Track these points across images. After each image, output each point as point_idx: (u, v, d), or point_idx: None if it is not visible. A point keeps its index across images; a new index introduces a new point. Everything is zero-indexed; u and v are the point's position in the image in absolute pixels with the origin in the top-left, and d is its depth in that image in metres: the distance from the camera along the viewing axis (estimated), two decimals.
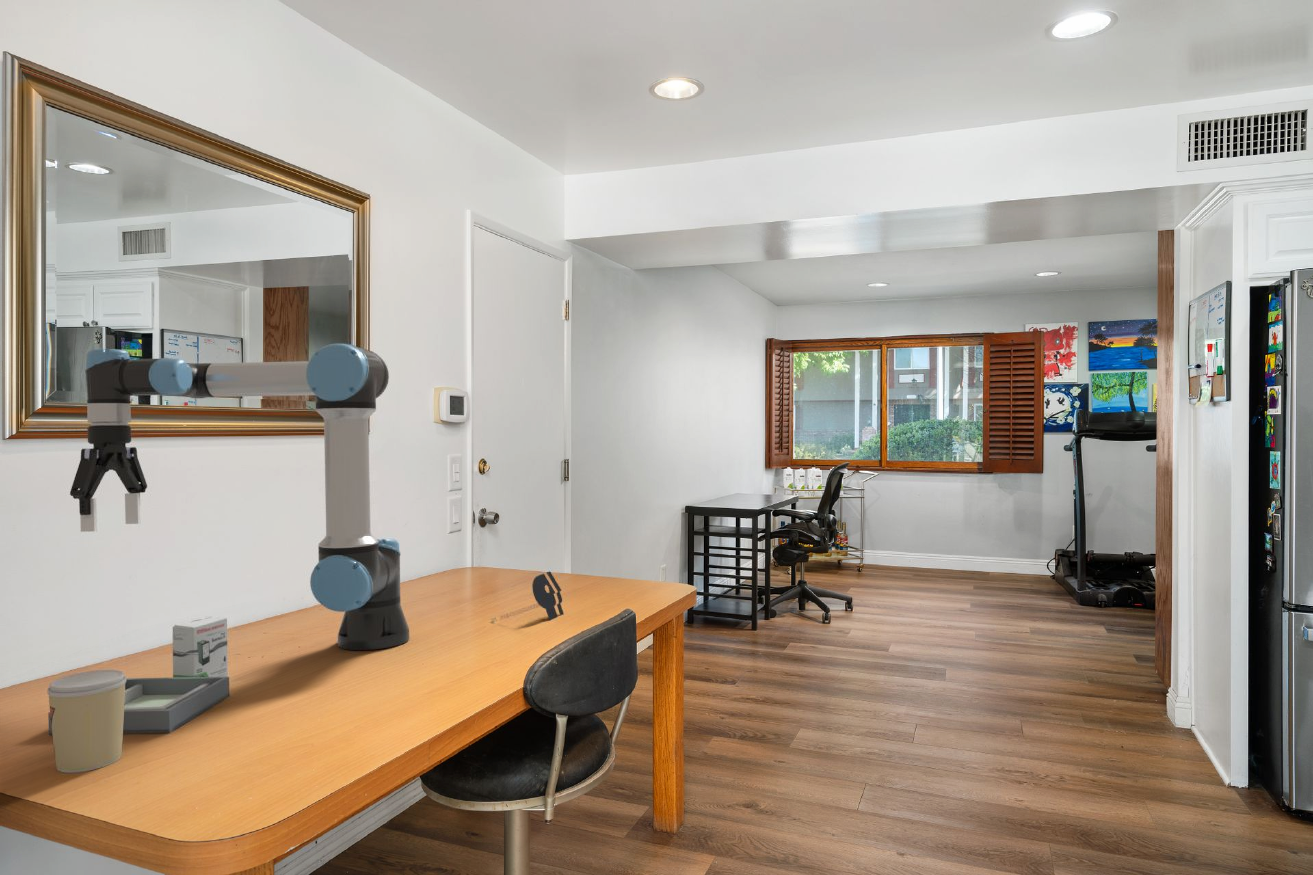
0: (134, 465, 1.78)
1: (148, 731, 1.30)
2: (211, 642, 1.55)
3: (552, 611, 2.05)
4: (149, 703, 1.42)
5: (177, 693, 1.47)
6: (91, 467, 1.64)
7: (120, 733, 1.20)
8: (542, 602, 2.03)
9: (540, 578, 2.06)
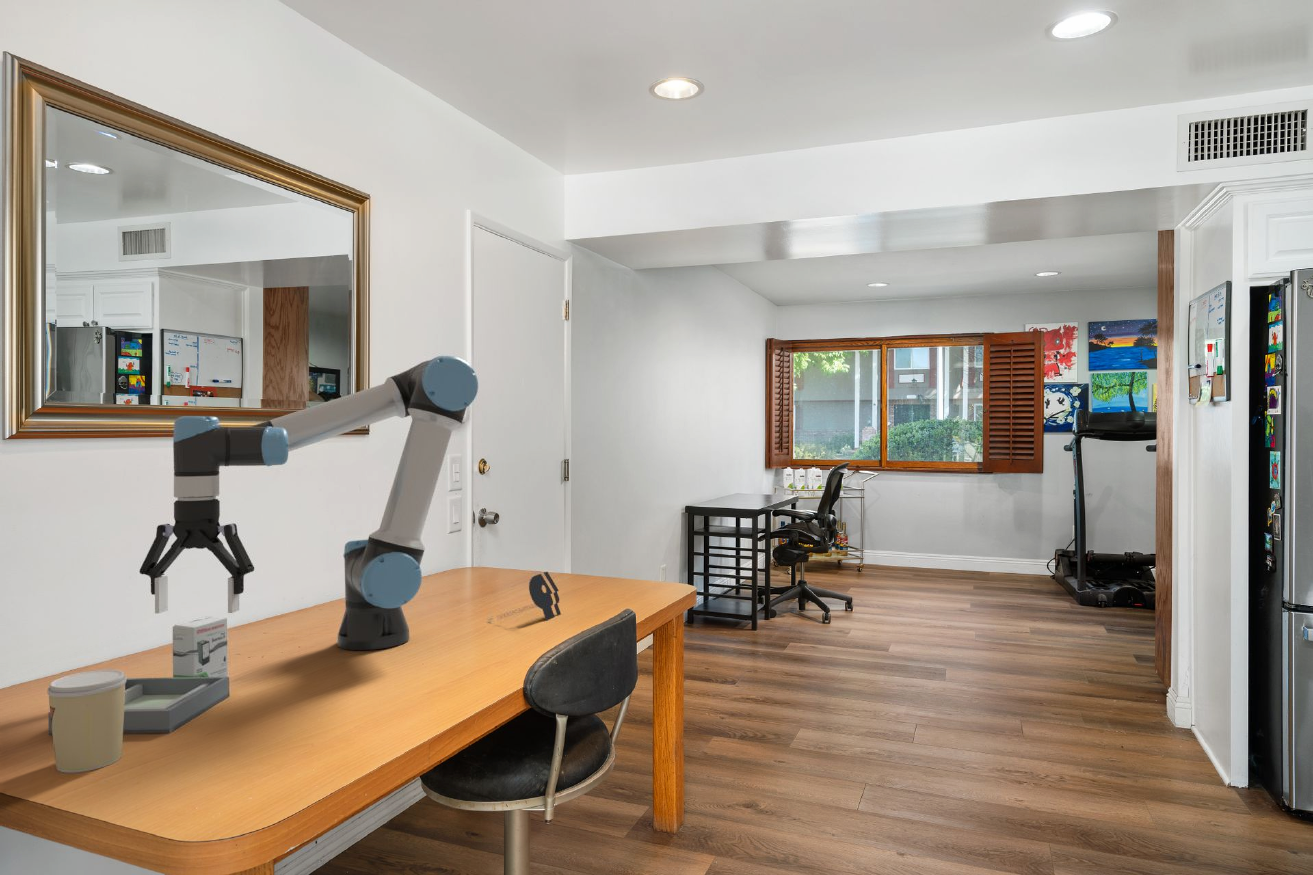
0: None
1: (148, 731, 1.30)
2: (211, 642, 1.55)
3: (549, 611, 2.05)
4: (149, 703, 1.42)
5: (177, 693, 1.47)
6: (153, 544, 1.54)
7: (120, 733, 1.20)
8: (539, 602, 2.03)
9: (537, 578, 2.06)
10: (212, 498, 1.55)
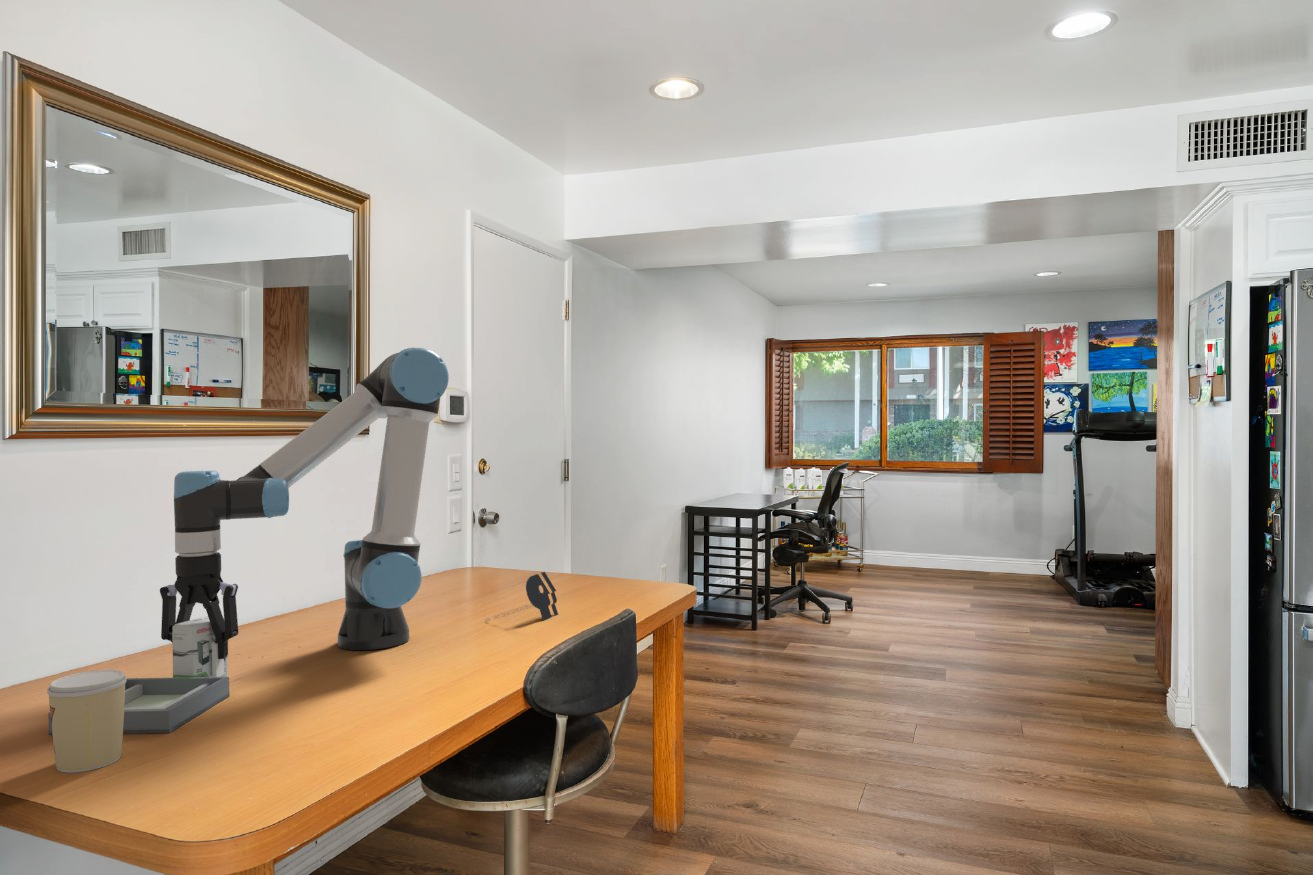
0: None
1: (148, 731, 1.30)
2: (211, 642, 1.55)
3: (546, 611, 2.05)
4: (149, 703, 1.42)
5: (177, 693, 1.47)
6: (163, 608, 1.54)
7: (120, 733, 1.20)
8: (536, 602, 2.03)
9: (534, 578, 2.06)
10: (213, 553, 1.55)
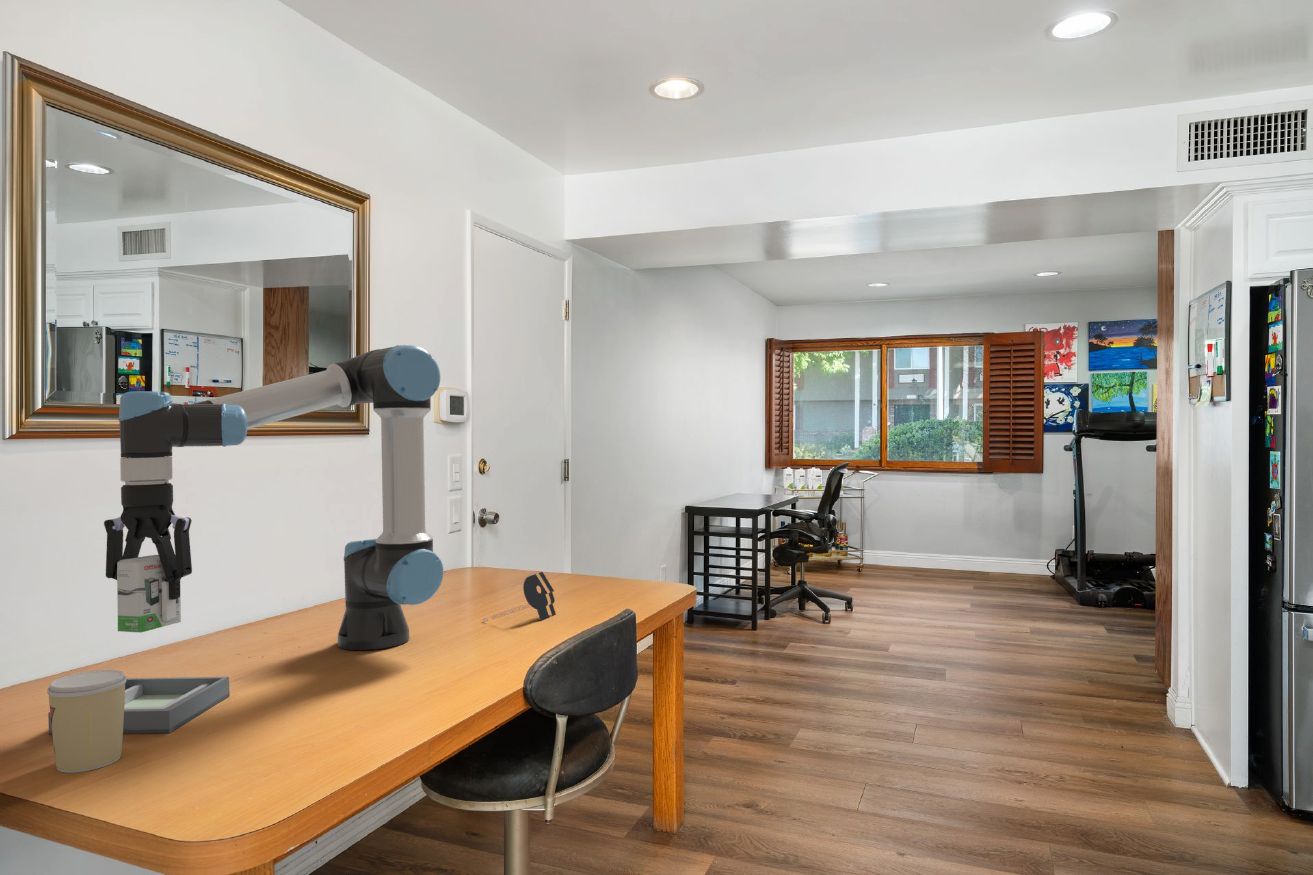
0: None
1: (148, 731, 1.30)
2: (161, 581, 1.40)
3: (544, 612, 2.05)
4: (149, 703, 1.42)
5: (177, 693, 1.47)
6: (108, 543, 1.39)
7: (120, 733, 1.20)
8: (533, 602, 2.02)
9: (532, 579, 2.06)
10: (164, 482, 1.40)
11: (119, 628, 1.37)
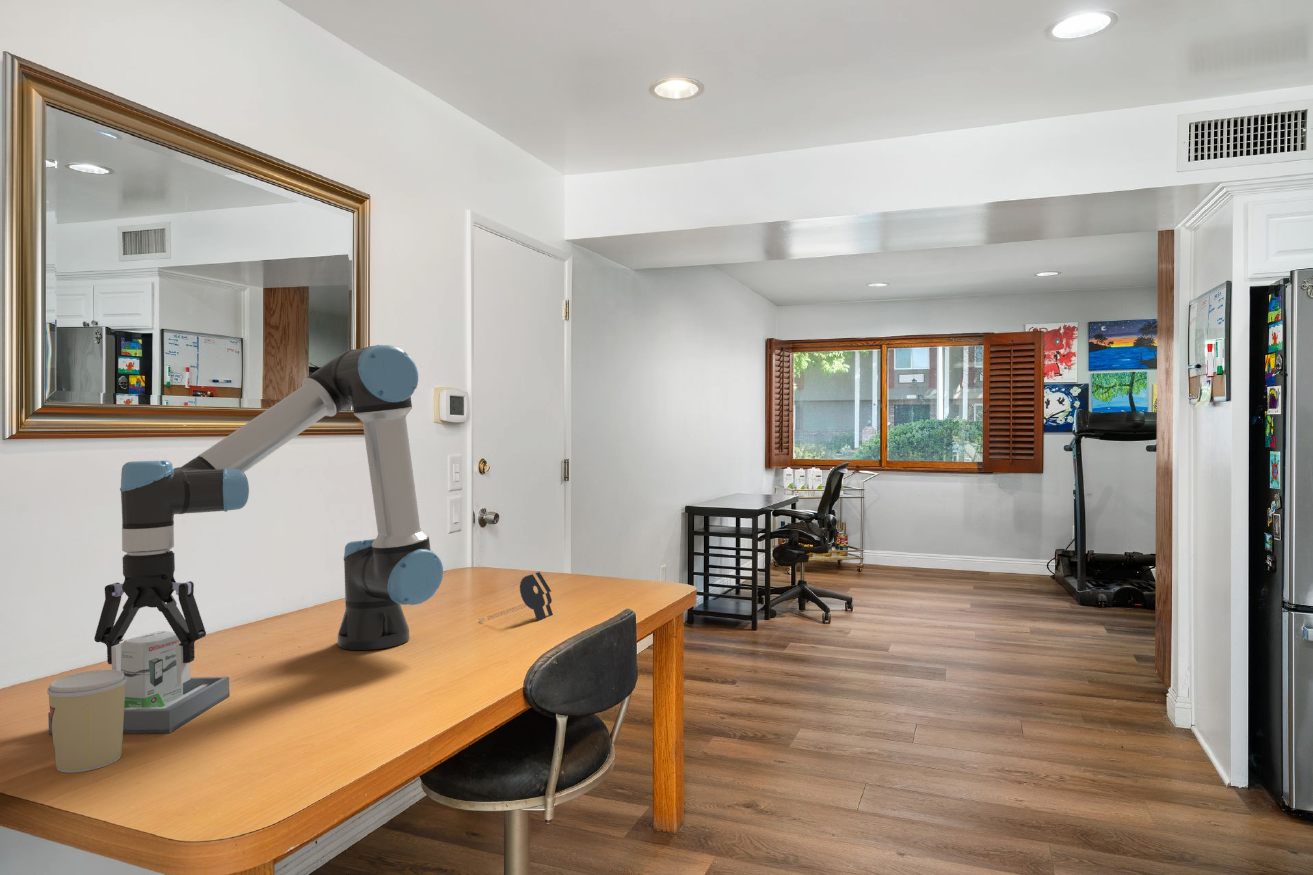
0: None
1: (148, 731, 1.30)
2: (165, 661, 1.40)
3: (540, 612, 2.05)
4: None
5: None
6: (104, 608, 1.39)
7: (120, 733, 1.20)
8: (530, 603, 2.02)
9: (529, 579, 2.06)
10: (165, 551, 1.40)
11: None
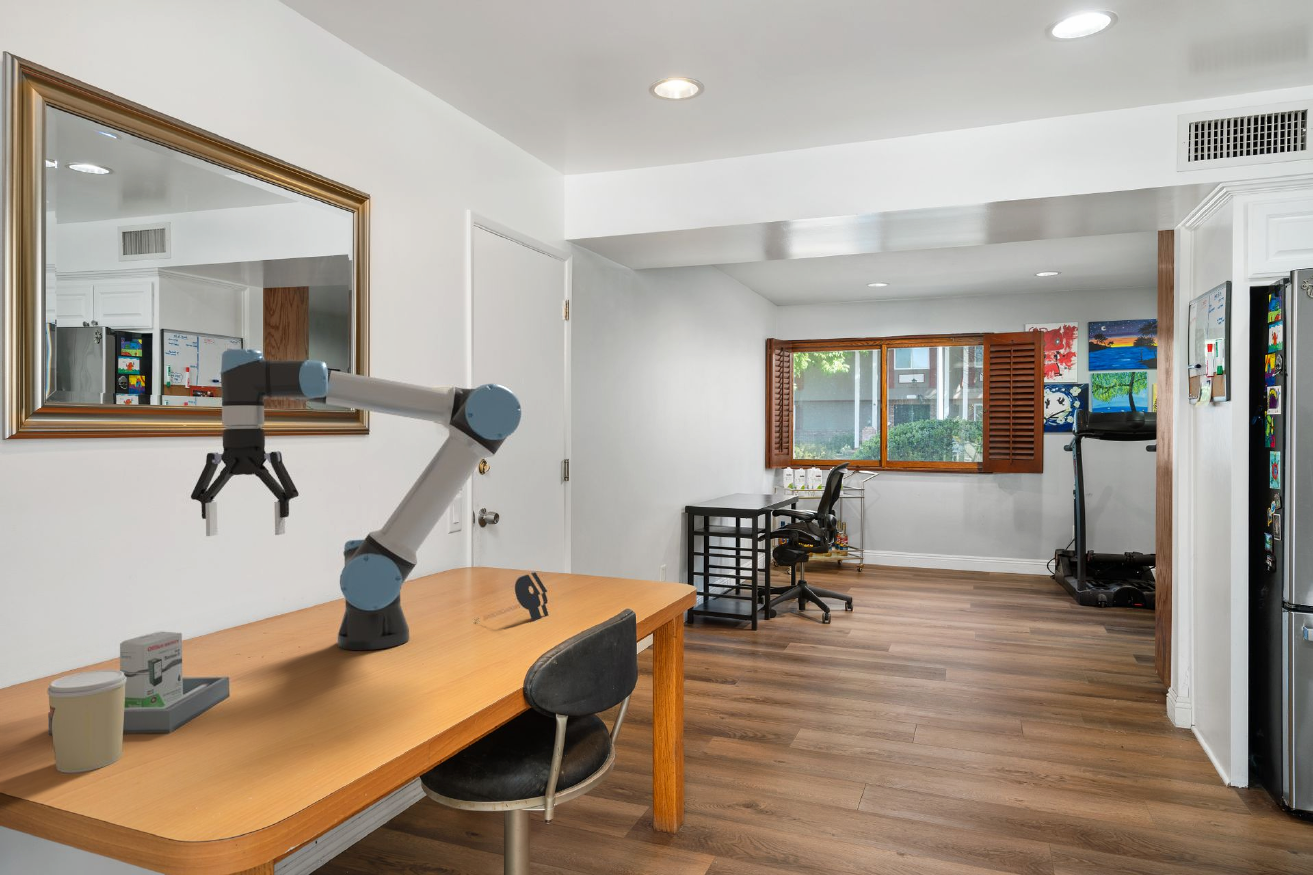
0: None
1: (148, 731, 1.30)
2: (164, 661, 1.40)
3: (536, 612, 2.04)
4: None
5: None
6: (203, 471, 1.63)
7: (120, 733, 1.20)
8: (525, 603, 2.02)
9: (524, 579, 2.05)
10: (258, 427, 1.64)
11: None
